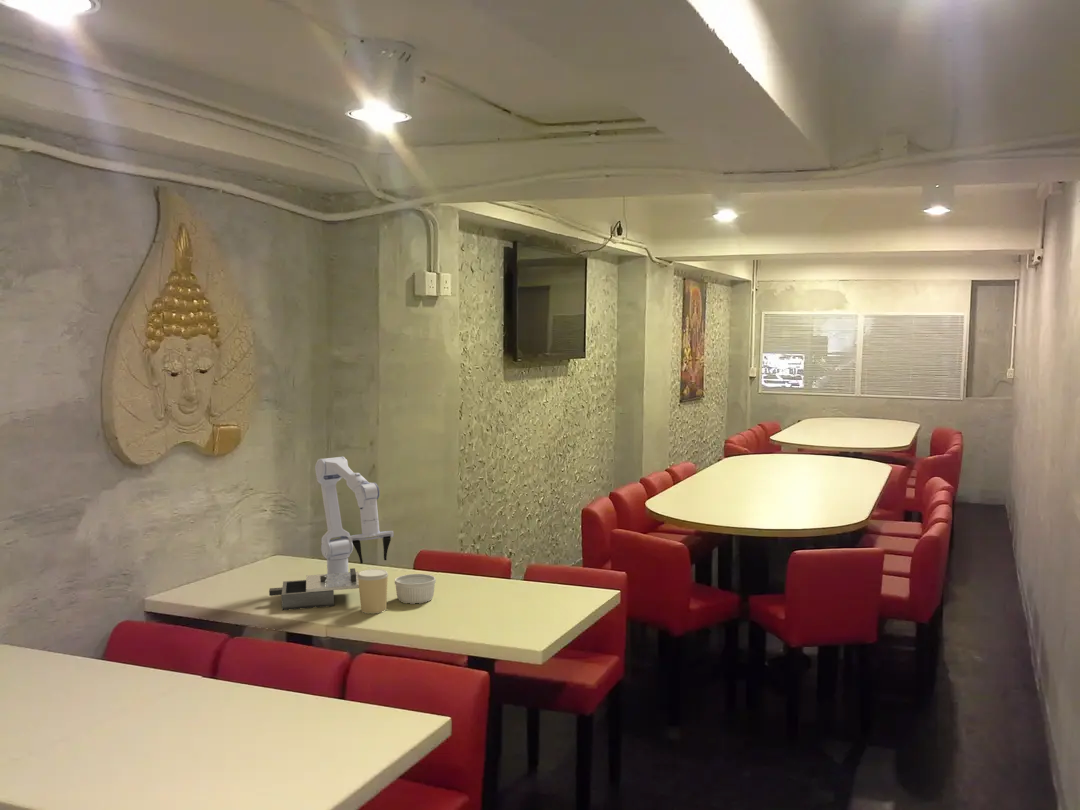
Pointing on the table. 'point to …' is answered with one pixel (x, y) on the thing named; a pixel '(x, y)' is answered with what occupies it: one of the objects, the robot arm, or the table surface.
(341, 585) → the lid
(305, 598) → the gray rectangular box
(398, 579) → the ramekin
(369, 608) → the coffee cup
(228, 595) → the table surface
